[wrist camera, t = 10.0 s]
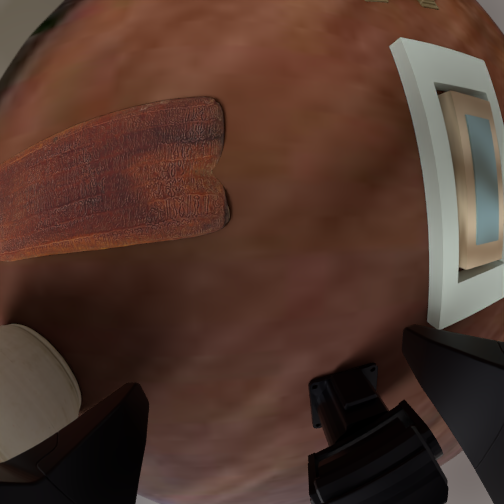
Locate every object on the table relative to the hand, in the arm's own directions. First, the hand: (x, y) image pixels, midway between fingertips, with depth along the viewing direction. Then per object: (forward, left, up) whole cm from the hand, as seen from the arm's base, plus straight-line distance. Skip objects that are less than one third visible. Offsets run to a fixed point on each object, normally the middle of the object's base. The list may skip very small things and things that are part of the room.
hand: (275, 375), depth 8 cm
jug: (-7, +25, -12) cm, 29 cm away
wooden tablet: (+9, +13, -13) cm, 21 cm away
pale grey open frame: (+4, -21, -12) cm, 25 cm away
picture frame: (+4, -21, -12) cm, 25 cm away
